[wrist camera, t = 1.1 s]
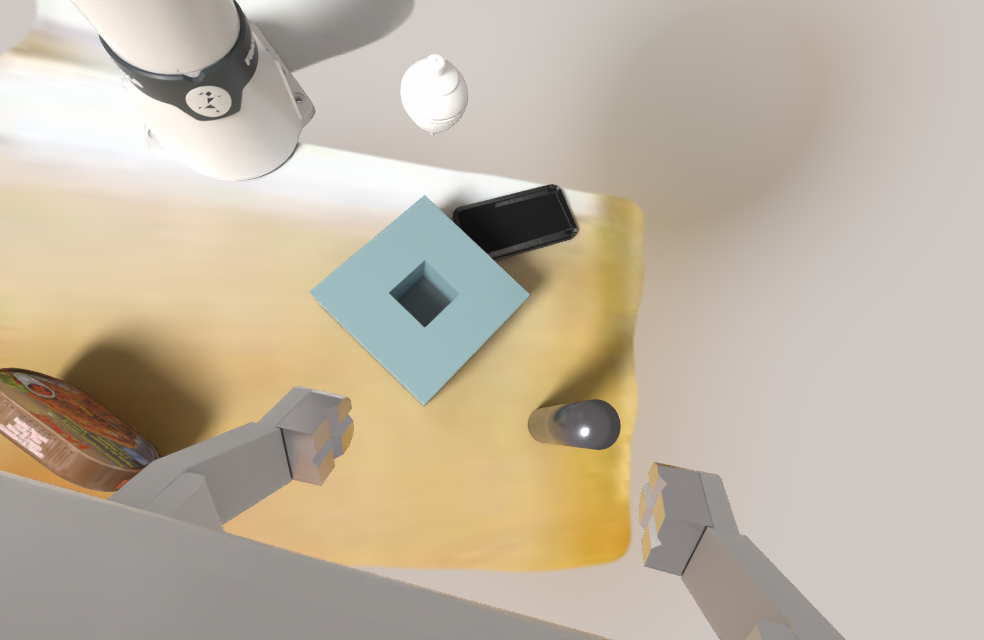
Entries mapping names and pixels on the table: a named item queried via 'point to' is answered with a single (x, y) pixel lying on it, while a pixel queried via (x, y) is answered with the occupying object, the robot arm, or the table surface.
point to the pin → (576, 424)
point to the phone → (517, 222)
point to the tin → (70, 431)
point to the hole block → (421, 298)
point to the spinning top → (434, 93)
